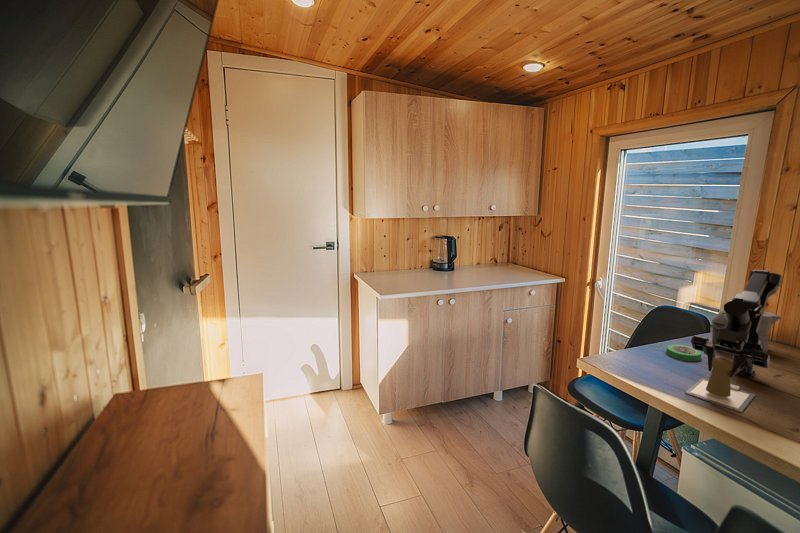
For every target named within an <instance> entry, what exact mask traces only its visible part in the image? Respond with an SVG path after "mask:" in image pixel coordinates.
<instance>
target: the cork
mask: <svg viewBox="0 0 800 533" xmlns="http://www.w3.org/2000/svg"><path fill="white" fill-rule="evenodd" d="M712 366H713V367H712V369H711V374H710V376H709V377H708V378H709V379H708V380H709V381H708V384H707V387H706V390H707V391H708V392H709V393H711V394H714V395H717V396H721V397H729V396H730V384H731V378H730V374H731V372H730V371H732V369H733V367H734V366H733V363H732V361H731V360H730V359H727V358H725V357H715V358H714V359H713V361H712Z"/></svg>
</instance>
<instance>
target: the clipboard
mask: <svg viewBox="0 0 800 533" xmlns="http://www.w3.org/2000/svg"><path fill="white" fill-rule="evenodd" d="M708 381H709V379H707V378H703V377H701V378H700V379H699V380H697V382H695V383H694V384H693V385H692V386H691V387H690V388H689V389H687V390H686V391H685V392H684V394H686V395H689V396H690V397H691V396H692V397H693V398H696V399H699V398H700V399H701V400H702V399H703V400H702V401H705V400H706V402H708V401H709V402H708V403H711V402H712V404H714V403H715V404H714V405H717V404H718V405H717V406H721V407H723V408H725V407H726V409H728V408H729V410H731V409H732V410H731V411H734V410H735V412H738V413H741V414H742V413H743V412H744V411H745V409H746V408H747V407H748V405H749V404H750V403H751V402H752V401H753V399H754V398H755V397H756V394H755V393H752V392H749V391H746V390H742V389H740V386H739V385H735V384H732V383H730V396H729V397H721V396H717V395H714V394H711V393H709V392H708V391H707V390H706V387H707V384H708Z"/></svg>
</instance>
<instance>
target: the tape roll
mask: <svg viewBox="0 0 800 533" xmlns="http://www.w3.org/2000/svg"><path fill="white" fill-rule="evenodd" d="M665 352H666V354H667V356H670V357H672V358H673V359H678V360H682V361H687V362H699V361H701V359H702V351H699V350H695V349H694V348H693V346H689V345H684V344H669V345H667V346H666V350H665ZM689 353H690V354H689Z"/></svg>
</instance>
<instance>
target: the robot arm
mask: <svg viewBox="0 0 800 533" xmlns="http://www.w3.org/2000/svg"><path fill="white" fill-rule="evenodd" d="M782 284H783V276H782V275H781V274H779V273H778V272H773V271H770V270H765V269H758V268H757V269H752V271H749V273H748V277H747V284H746V286H745V288H744V289H743V291H742V292H740V293H737V294H735V296H734V297H733V298H732V299H730V300H729V301H727V302H726V303H725V304H724V305H723V311H724V312H723V313H725V317H726V320H727V323H726V326H725V328H724V329H721V328H719V332H718V335H717V338H718V339H717V342H719V344H714V343H713V342H712V341H710V340H709V337H705V336H703V335H702V336H701V335H698V334H697V335H696V334H695V335H694V336H692V337H691V340H690V343H691V347H693V348H694V349H695V350H699V351H700V352H703V354H704V355H706V357H707V368H708V372H712V370H713V366H712V361H713V359H714V358H716V351H717V352H722V353H726V354H727V355H730V356H731V355H732V361H731V362H732V363H733V366H734V367H733V369H732V371H730V379H731V378H734V376H736V375H740V376H743V377H746V378H753V376H754V375H755V374H756V371H755V370H754V367H755V366H756V367H760V368H762V369H763V368H764V369H768V368H769V366H770V362H771V359H770V354H769V353H768V351H766V352H764V351H763V349H762V345H760V344H761V341H760V338H759V336H758V334H757V333H758V330H759V326H760V323H761V320H762V317H763V314H764V311H765V310H766V306H767V305H768V304H767V303H768V300H769V298H770V297H771V296H773V295H775V294H777V292H778V289H779V287H781V286H782Z"/></svg>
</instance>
